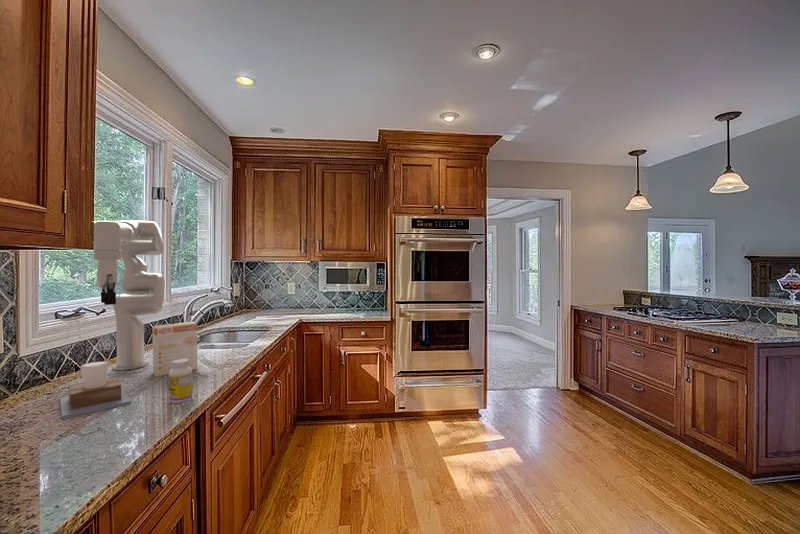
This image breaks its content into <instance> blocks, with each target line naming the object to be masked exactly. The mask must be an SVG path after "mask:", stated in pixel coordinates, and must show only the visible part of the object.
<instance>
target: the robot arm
mask: <svg viewBox="0 0 800 534" xmlns="http://www.w3.org/2000/svg"><path fill="white" fill-rule="evenodd" d="M93 222H94V242H93V260H96V261H97V271H96V272H97V273H96V274H97V275H96V277H97V278H96V286H97V288H101V291H100V302H101V303H102V304H104V305H106V306H108V305H112V307H113V311H114V316H115V322H116V324H115V326H116V327H115V328H116V364H113V365H112V367H111V369H112V370H114V371H127V370H135V369H139V368H142V367H146V366H148V365H149V360H147V359H145V325H144V323H143V321H142V320H141V318H139V317H138V316H147V315H157V314H159V313H161V312H162V310H163V306H164V305H163V304H164V299H165V297H164V296H165V288H166V287H165V283H166V282H165V278H164V275H162V274H161V273H157V272H148V265H147V263H146V262H144V260H143V259H141V258H140V257H139V256H159V255H162V254H163V253H164V251H165V244H164V240H163V235H162V232H161V229H160V227H159V225H158V224H157V223H156V222H154V221H151V220H96V221H93ZM119 260H120V261H121V260H122V261H123V265H124V269H123V275H122V280H121V291H122V292H123V294H119V295H117V293H116V287H117V286H118V261H119Z"/></svg>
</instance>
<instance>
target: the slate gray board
mask: <svg viewBox="0 0 800 534" xmlns="http://www.w3.org/2000/svg"><path fill="white" fill-rule="evenodd" d="M59 403H60V404H59V405H60V412H61V419H62V420H64V419H68V418H72V417H76V416H82V415H86V414H91V413H95V412H99V411H103V410H104V411H105V410H108V409H113V408H117V407H121V406H126V405H130V404H132V400H131V399H130V396H128V394H127V392H126V391H125V388H124V387H123V386H122V385H121V400H116V401H111V402H107V403H102V404H97V405H93V406H88V407H83V408H79V409H74V410H71V409H70V403H69V395H68V396H64V397H63V396H62V397H60V398H59Z"/></svg>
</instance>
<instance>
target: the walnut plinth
mask: <svg viewBox="0 0 800 534" xmlns="http://www.w3.org/2000/svg"><path fill="white" fill-rule="evenodd" d="M121 386H122V384H121V382H120V380H118V378H117V376H113V377H107V383H106V385H104V386H101V387H96V388H88V389H86V388H83V382H79V383H74V384H73V383H72V384H68V396H69V403H70V409H71V410H74V409H79V408H83V407H88V406H93V405H97V404H102V403H107V402H111V401H116V400H121Z"/></svg>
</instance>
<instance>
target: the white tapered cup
mask: <svg viewBox="0 0 800 534" xmlns="http://www.w3.org/2000/svg"><path fill="white" fill-rule="evenodd" d="M109 364H110V363H109V361H101V360H99V361H92V362H88V363H84V364H81V365H80V373H81V378H82V383H83V388H86V389H88V388H96V387H101V386H104V385H106V383H107V378H108V372H109Z"/></svg>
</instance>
